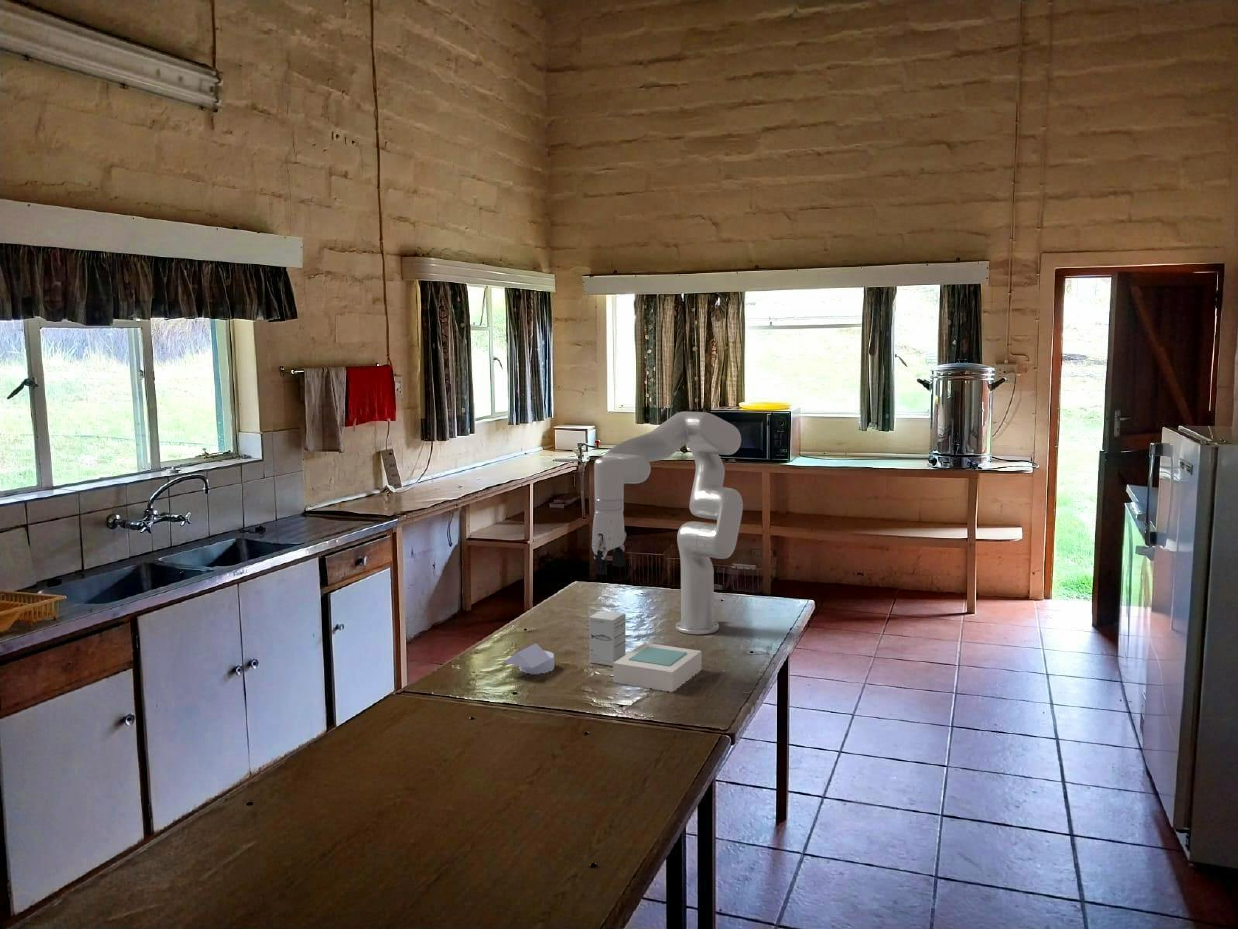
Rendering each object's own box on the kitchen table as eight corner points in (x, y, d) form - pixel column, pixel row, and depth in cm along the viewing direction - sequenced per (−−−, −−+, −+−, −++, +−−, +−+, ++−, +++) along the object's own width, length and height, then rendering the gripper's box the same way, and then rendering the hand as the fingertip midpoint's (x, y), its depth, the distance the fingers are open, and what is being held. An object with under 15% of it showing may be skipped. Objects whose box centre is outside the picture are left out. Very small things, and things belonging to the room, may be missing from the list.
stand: (645, 661, 258) (644, 641, 258) (701, 669, 251) (701, 649, 250) (613, 682, 242) (613, 661, 242) (672, 692, 235) (672, 671, 234)
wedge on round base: (532, 681, 244) (560, 666, 255) (532, 655, 243) (560, 641, 255) (503, 675, 249) (532, 660, 260) (502, 649, 248) (531, 636, 259)
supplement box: (588, 663, 257) (588, 616, 256) (602, 655, 264) (601, 609, 262) (613, 667, 254) (613, 619, 252) (626, 659, 260) (626, 612, 259)
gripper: (611, 499, 263) (612, 562, 265) (580, 509, 247) (581, 575, 249) (636, 501, 259) (637, 564, 261) (606, 511, 244) (607, 578, 246)
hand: (609, 570), depth 255 cm, fingers open, 9 cm apart
